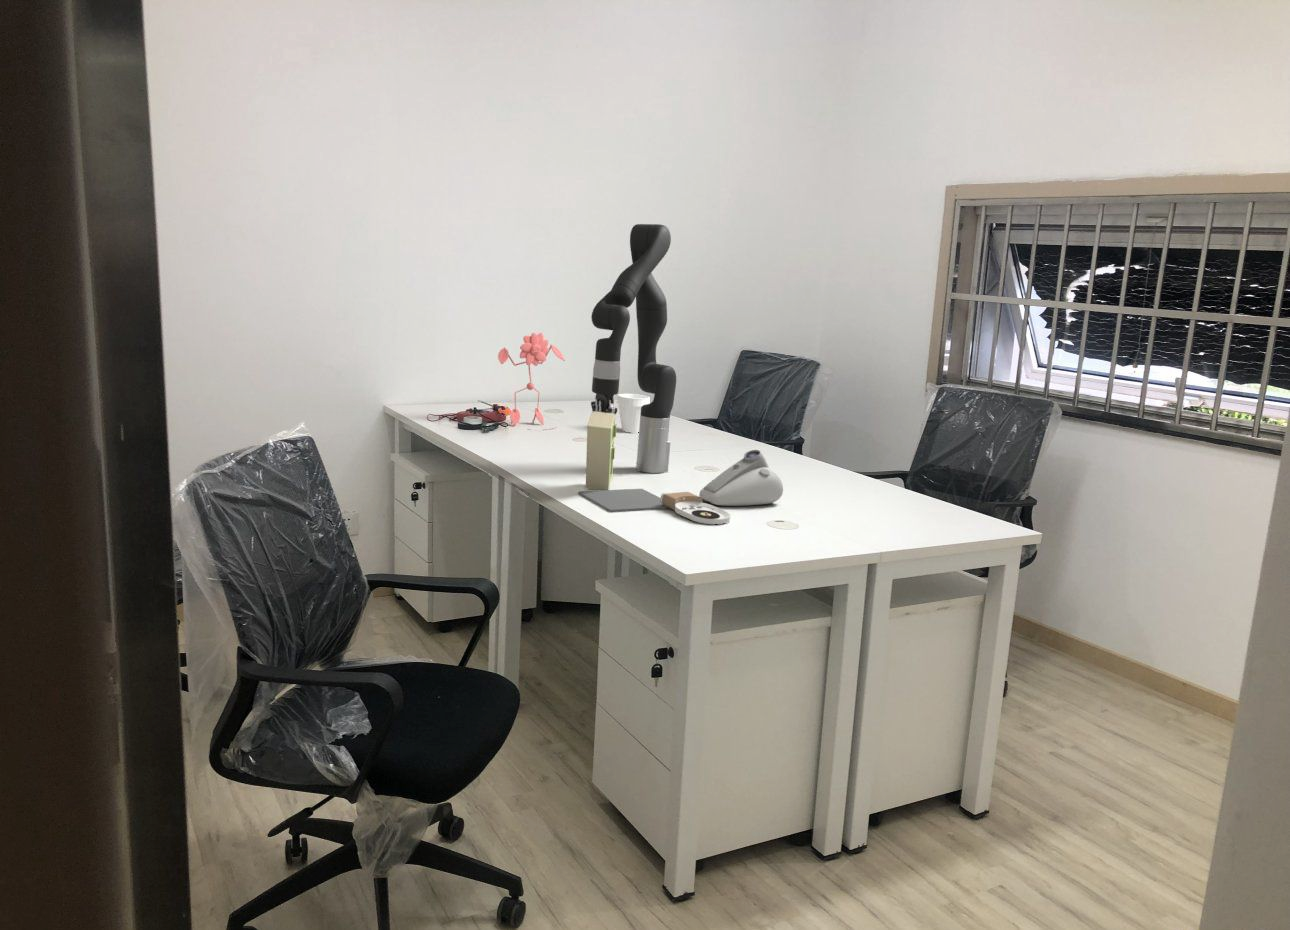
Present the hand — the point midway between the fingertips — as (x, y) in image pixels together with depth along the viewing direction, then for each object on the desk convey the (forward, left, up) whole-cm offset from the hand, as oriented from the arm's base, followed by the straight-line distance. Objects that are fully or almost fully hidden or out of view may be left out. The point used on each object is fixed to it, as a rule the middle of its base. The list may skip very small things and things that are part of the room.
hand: (601, 437), depth 282 cm
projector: (-32, +24, -15) cm, 43 cm away
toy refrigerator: (0, +1, -13) cm, 13 cm away
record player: (-12, +34, -14) cm, 39 cm away
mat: (0, +17, -14) cm, 22 cm away
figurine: (-16, -92, -14) cm, 95 cm away
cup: (-52, -80, -14) cm, 96 cm away
